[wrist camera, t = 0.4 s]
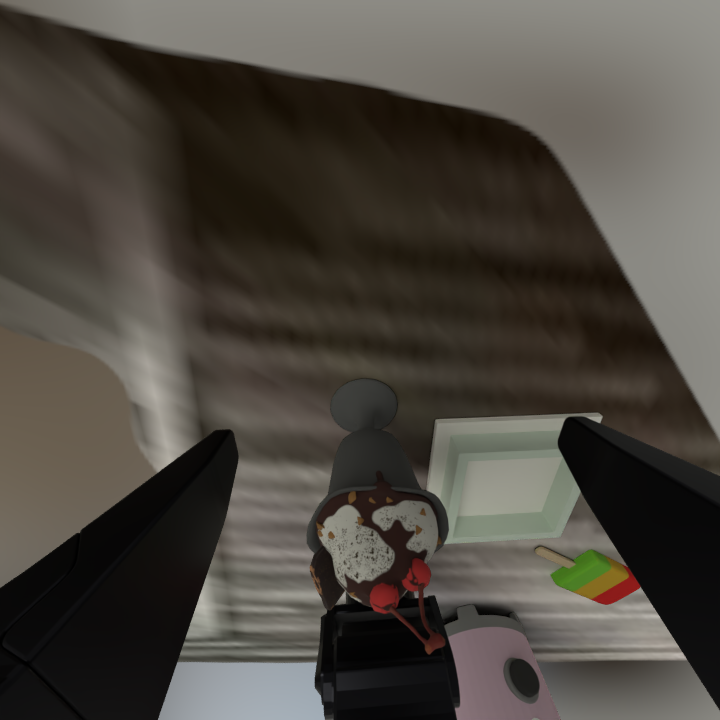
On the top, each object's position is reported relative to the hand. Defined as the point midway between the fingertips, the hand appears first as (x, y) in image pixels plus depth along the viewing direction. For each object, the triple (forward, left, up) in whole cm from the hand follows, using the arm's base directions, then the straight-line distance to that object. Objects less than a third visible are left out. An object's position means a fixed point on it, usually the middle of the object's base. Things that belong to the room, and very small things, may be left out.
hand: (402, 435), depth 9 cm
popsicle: (-31, -24, -14) cm, 42 cm away
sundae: (-8, 0, -13) cm, 15 cm away
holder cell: (-16, -12, -13) cm, 24 cm away
